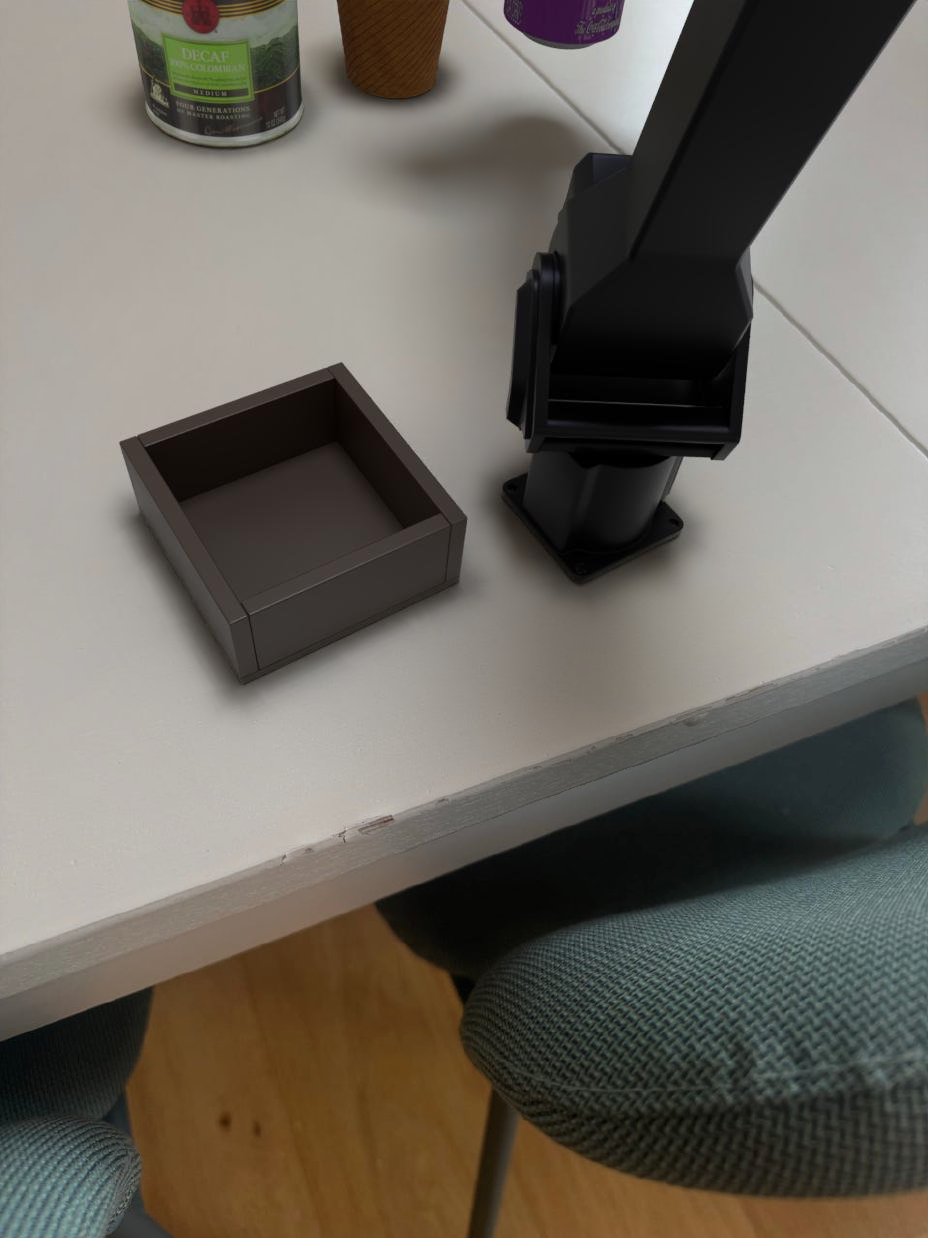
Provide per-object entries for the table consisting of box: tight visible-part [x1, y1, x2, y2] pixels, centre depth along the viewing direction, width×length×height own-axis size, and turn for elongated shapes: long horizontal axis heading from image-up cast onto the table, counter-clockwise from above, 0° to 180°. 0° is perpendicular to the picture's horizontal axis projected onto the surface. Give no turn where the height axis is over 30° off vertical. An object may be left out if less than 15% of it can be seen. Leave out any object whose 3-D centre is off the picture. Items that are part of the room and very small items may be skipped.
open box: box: [118, 361, 469, 685], centre depth 41 cm, size 11×11×4 cm
